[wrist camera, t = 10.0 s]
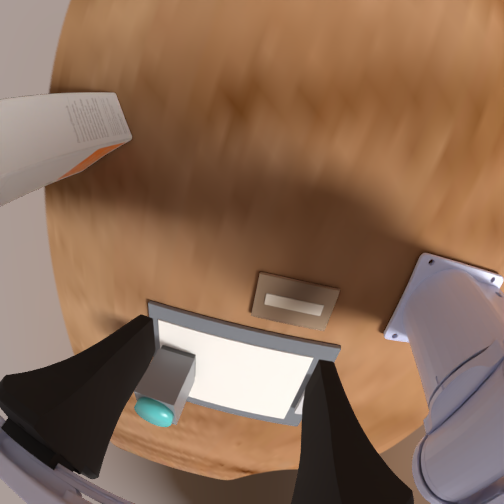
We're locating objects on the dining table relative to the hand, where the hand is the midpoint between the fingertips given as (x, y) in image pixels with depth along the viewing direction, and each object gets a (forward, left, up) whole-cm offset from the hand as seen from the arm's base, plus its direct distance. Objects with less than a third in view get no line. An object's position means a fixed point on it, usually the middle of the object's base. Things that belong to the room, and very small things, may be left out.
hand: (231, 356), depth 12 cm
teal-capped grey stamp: (+6, +13, -9) cm, 17 cm away
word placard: (-3, +4, -10) cm, 11 cm away
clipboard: (+1, +14, -10) cm, 17 cm away
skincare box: (+14, -7, -10) cm, 19 cm away
